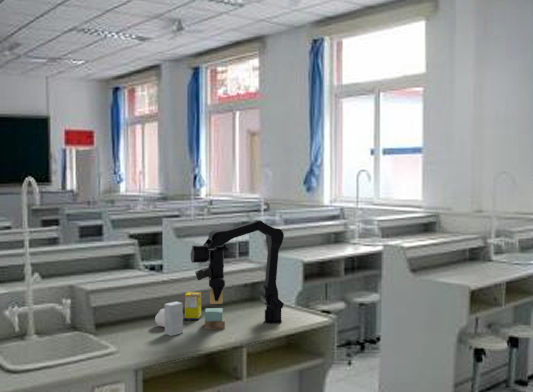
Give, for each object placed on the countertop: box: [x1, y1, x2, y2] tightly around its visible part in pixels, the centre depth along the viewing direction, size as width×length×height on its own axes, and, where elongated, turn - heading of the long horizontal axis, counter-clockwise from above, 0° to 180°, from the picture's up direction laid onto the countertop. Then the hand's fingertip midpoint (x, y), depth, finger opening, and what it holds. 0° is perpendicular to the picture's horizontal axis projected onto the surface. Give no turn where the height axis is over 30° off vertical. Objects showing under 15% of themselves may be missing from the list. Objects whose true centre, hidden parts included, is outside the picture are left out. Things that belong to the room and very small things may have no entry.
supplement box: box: [184, 291, 202, 321], centre depth 253 cm, size 6×6×11 cm
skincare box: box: [164, 301, 184, 337], centre depth 230 cm, size 6×4×12 cm
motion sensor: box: [154, 308, 165, 328], centre depth 240 cm, size 8×8×8 cm
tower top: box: [204, 307, 224, 322], centre depth 241 cm, size 7×7×4 cm
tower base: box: [204, 315, 226, 330], centre depth 241 cm, size 8×8×4 cm
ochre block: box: [209, 288, 224, 305], centre depth 240 cm, size 5×5×5 cm
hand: (216, 299), depth 240 cm, fingers closed on ochre block, 5 cm apart
